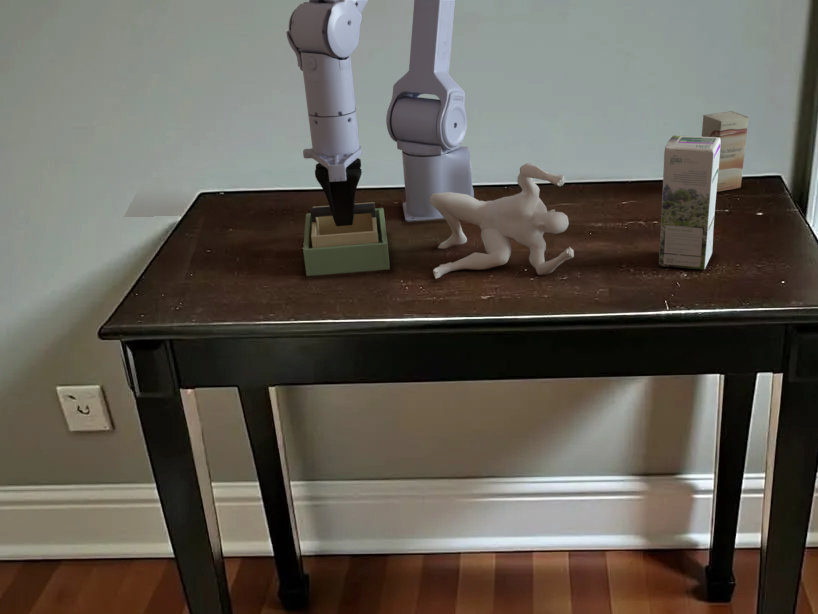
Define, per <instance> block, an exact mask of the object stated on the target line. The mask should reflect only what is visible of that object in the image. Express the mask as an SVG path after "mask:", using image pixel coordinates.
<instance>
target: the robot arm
mask: <svg viewBox="0 0 818 614" xmlns="http://www.w3.org/2000/svg"><path fill="white" fill-rule="evenodd" d="M368 1H369V0H308V1H304V2H303V3H300V4H298V5H297V7H296V8H295V9H294V10H293V11H292V12H291V15H290V17H289V21H288V31H286V39H287V41H288V44H289V46H290V48H291V49H292V51H293V52H294V53H295V57H296V61H297V67H298V68H299V70H300V71H301V72H302V75H303V82H304V91H305V100H306V107H307V116H308V122H309V132H310V140H311V148H304V149H303V150H302V156H303V159H312V160H314V161H315V162H317V163H316V164H315V169H314V176H315V179H316V181H317V182H318V184H319V185H320V187H321V189H322V191H323V192H324V195H325V197H326V199H327V203H328V206H330V209H331V213H332V216H333V219H334V222H335V224H336V226H347V225H353V219H354V205H355V204H356V193H357V187H358V185H359V183H360V180H361V177H362V173H363V171H362V159H361V158H359V157H361V155H362V154H363V150H362V146H361V145H360V137H359V128H358V127H359V126H358V125H359V124H358V116H357V108H356V107H357V106H356V97H355V87H354V78H353V77H354V76H353V68H352V57H351V55H353V53H354V51H355V49H357V48H358V46H359V41H360V35H361V34H360V33H361V27H360V26H361V23H362V22H363V20H362V18H363V15H362V13H363V11H364V9H365V7H366V6H367V3H368ZM455 8H456V0H414V1H413V11H412V12H413V13H412V23H411V24H412V25H411V38H410V51H409V52H410V53H409V65H408V71H407V72H406V73H405V74H404V75H403V76H402V77H400V78H399V79H398V80H397V81H396V82H395V83H394V84H393V85H392V95H391V100H390V103H389V105H388V108H387V111H386V118H385V121H386V123H385V124H386V129H387V132H388V135H389V137H390V138H391V139H392V141H393V142H395V143H396V148H397V149H396V150H399V151H401V155H402V168H403V180H404V181H403V182H404V194H405V195H404V196H405V202H403V203H402V209H403V215H404V220H405V222H408V223H410V222H420V221H421V222H422V221H434V220H445V219H444V217H443V216H442V215H441V213H440V212H439V211H438V210H437V209H436V208H435V207H434V206H432V204H431V203H430V198H431V196H432V194H433V193H445V192H453V193H459V194H466V195H469V196H471V197H473V198H475V192H474V187H473V173H472V172H473V171H472V159H471V152H470V149H469V147H468V146H464V145H463V146H460V145H461V144H462V142H463V140H464V138H465V136H466V133H467V129H468V118H467V117H468V116H467V112H466V100H465V99H466V92H465V91H464V90H463V88H462V87H461V86H460V85H459V84H458V83H457V82H456V81H455V80H454V79H453V78H452V76H451V75H450V67H451V56H452V55H451V54H452V44H453V32H454V21H455V20H454V19H455ZM421 95H431V96H436V97H437V99H436V98H428V97H420V96H421Z"/></svg>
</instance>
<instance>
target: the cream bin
mask: <svg viewBox="0 0 818 614" xmlns="http://www.w3.org/2000/svg"><path fill="white" fill-rule="evenodd" d="M375 209H376V204H375V202H374V201H371V202H369V201H368V202H358V203H356V202H355V205H354V219H353V225H347V226H336V224H335V222H334V219H333V216H332V213H331V209H330V206H329V205H319V206H312V207H310V214H311V218H312V232H311V240H312V248H320V247H333V246H346V245H359V244H371V243H378V234H377V224H376V214H375Z"/></svg>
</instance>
